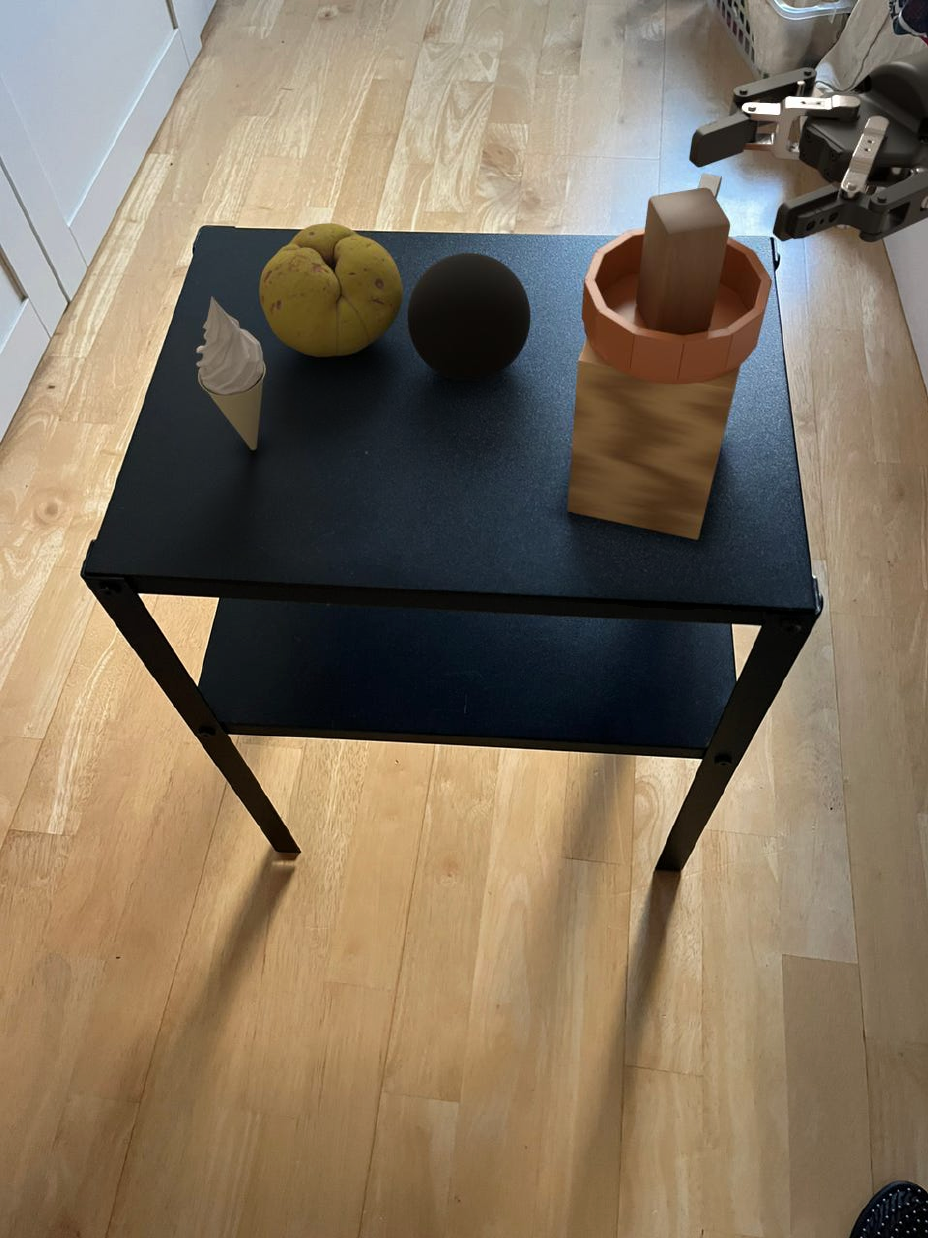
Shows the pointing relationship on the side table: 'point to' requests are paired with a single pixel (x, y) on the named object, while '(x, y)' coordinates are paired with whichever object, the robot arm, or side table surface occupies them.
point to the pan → (666, 355)
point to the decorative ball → (468, 317)
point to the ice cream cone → (232, 372)
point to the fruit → (330, 291)
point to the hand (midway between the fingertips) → (734, 185)
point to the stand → (645, 446)
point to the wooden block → (681, 260)
